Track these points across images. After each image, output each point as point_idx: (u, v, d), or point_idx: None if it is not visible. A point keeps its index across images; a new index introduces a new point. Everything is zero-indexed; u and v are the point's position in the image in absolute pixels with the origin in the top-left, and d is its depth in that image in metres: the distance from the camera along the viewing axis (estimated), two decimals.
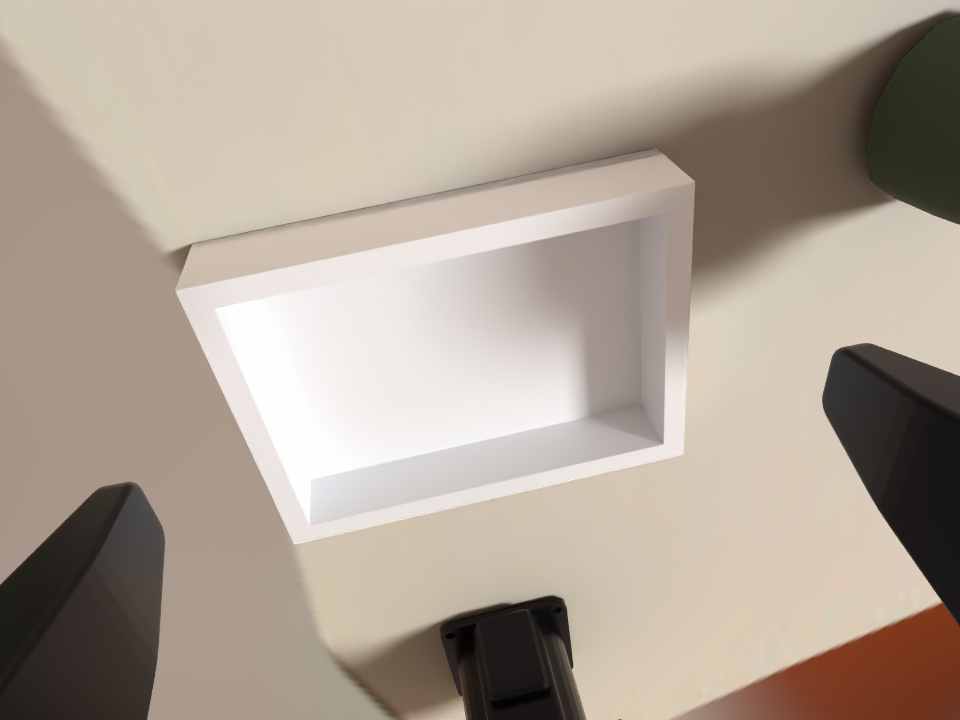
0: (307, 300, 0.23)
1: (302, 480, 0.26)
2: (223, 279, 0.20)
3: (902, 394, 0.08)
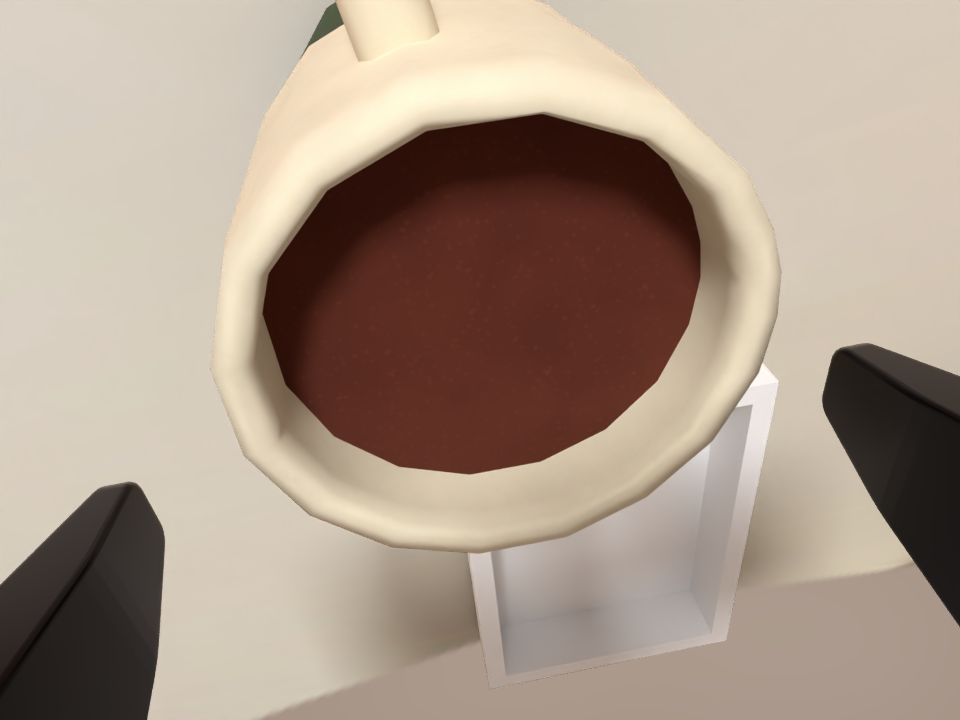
0: (528, 593, 0.32)
1: (677, 613, 0.33)
2: (487, 672, 0.31)
3: (902, 393, 0.08)
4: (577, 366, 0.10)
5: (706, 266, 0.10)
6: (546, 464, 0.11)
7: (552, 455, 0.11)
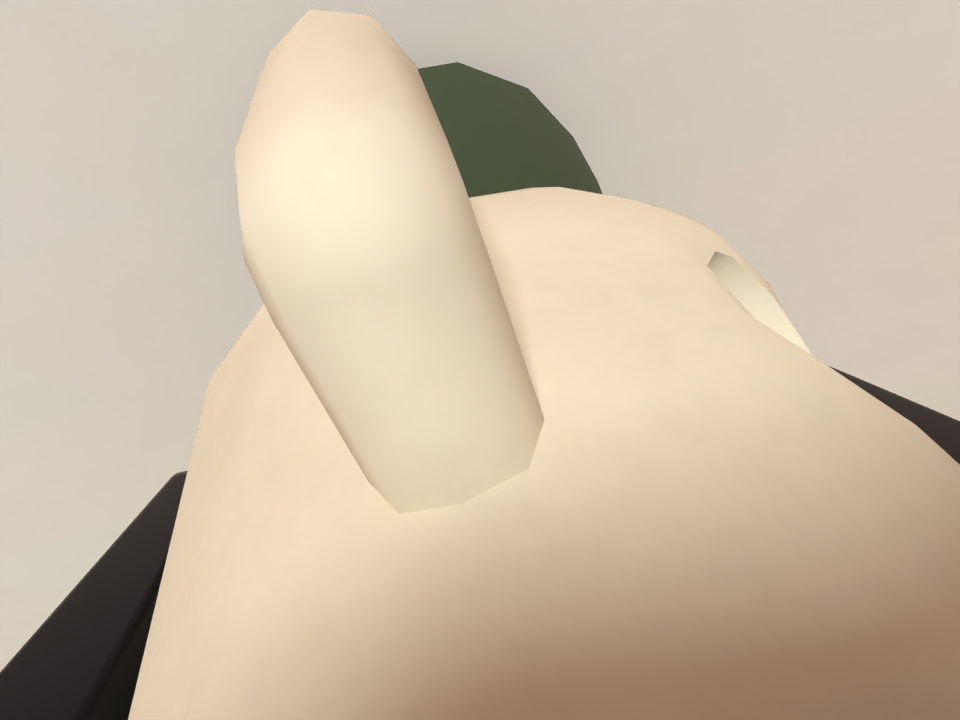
0: None
1: None
2: None
3: None
4: None
5: None
6: None
7: None
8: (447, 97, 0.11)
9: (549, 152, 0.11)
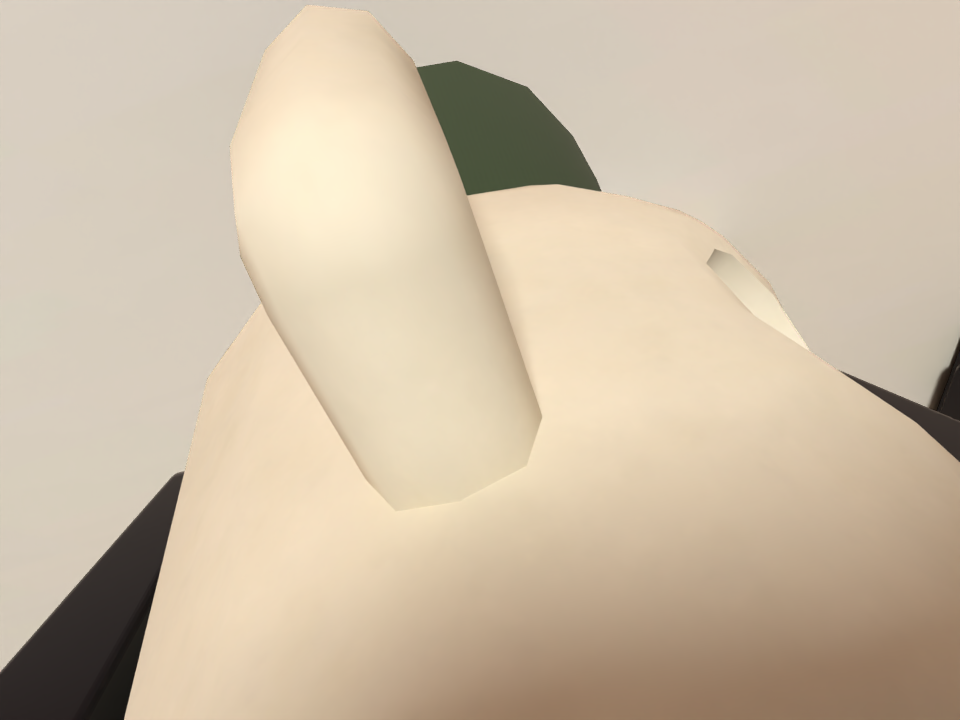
0: None
1: None
2: None
3: None
4: None
5: None
6: None
7: None
8: (447, 95, 0.11)
9: (548, 150, 0.10)
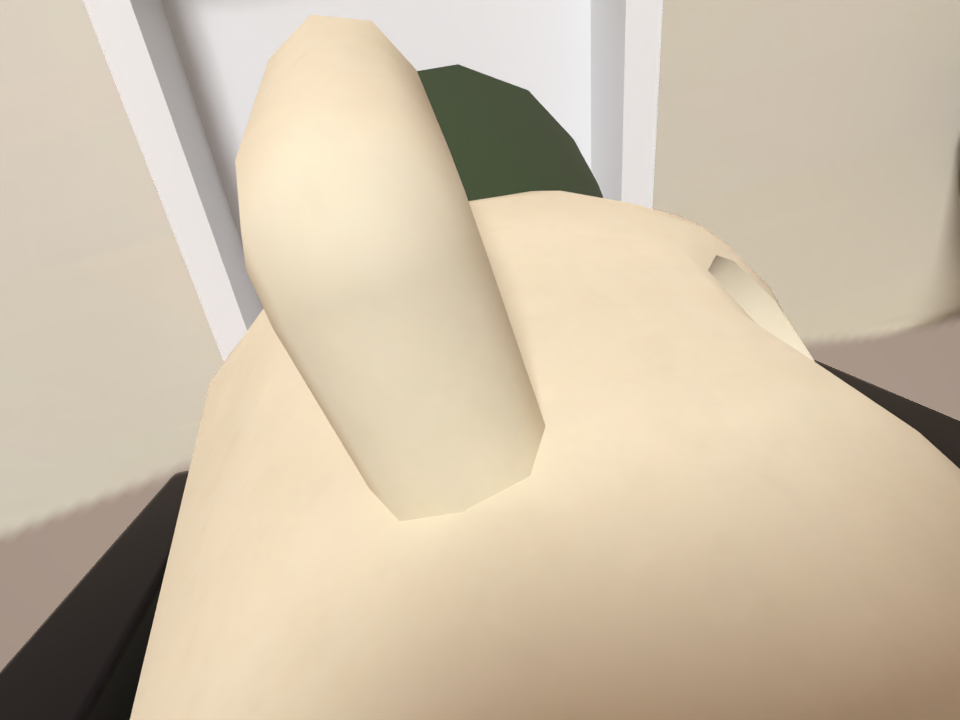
0: None
1: None
2: None
3: None
4: None
5: None
6: None
7: None
8: (448, 99, 0.11)
9: (549, 154, 0.11)
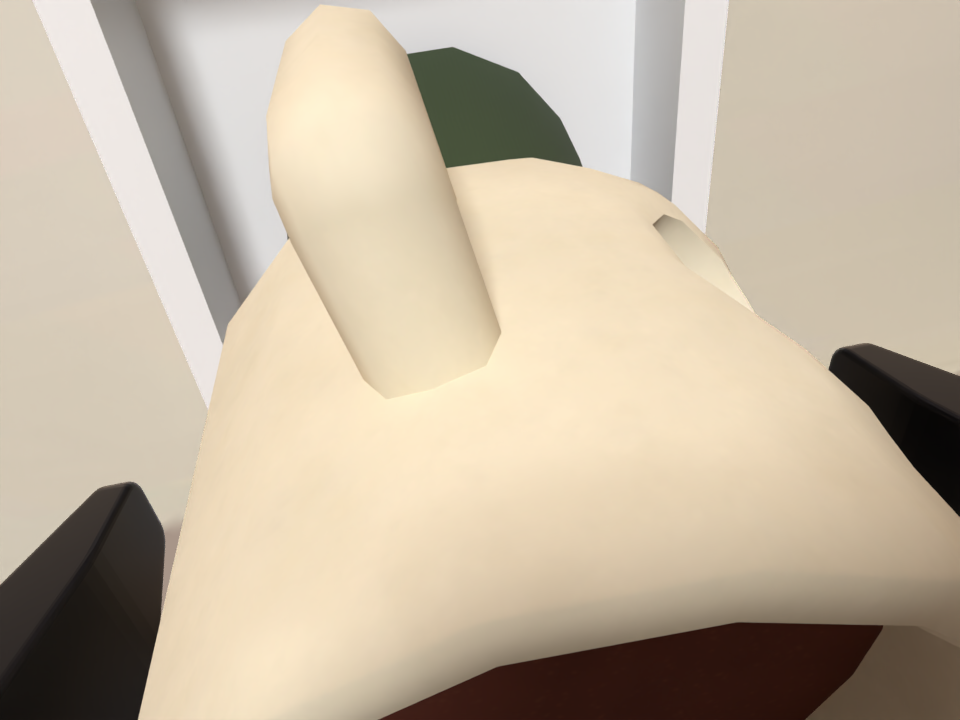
0: None
1: None
2: None
3: (902, 394, 0.08)
4: None
5: (901, 634, 0.06)
6: None
7: None
8: (442, 79, 0.12)
9: (534, 131, 0.12)
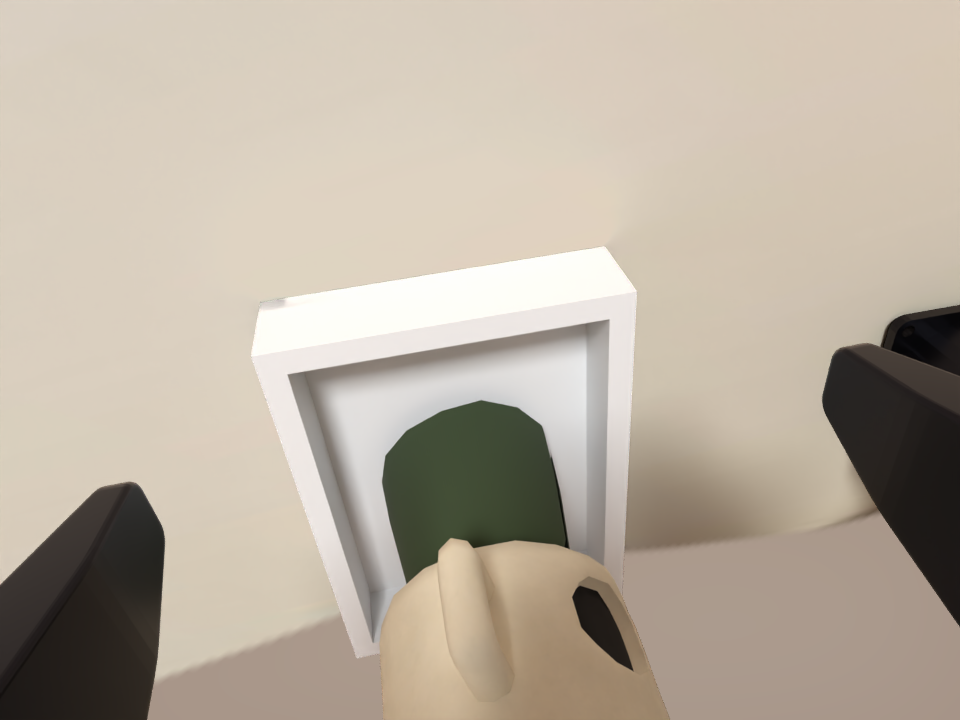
0: None
1: None
2: None
3: (902, 394, 0.08)
4: None
5: None
6: None
7: None
8: (477, 435, 0.23)
9: (526, 471, 0.22)
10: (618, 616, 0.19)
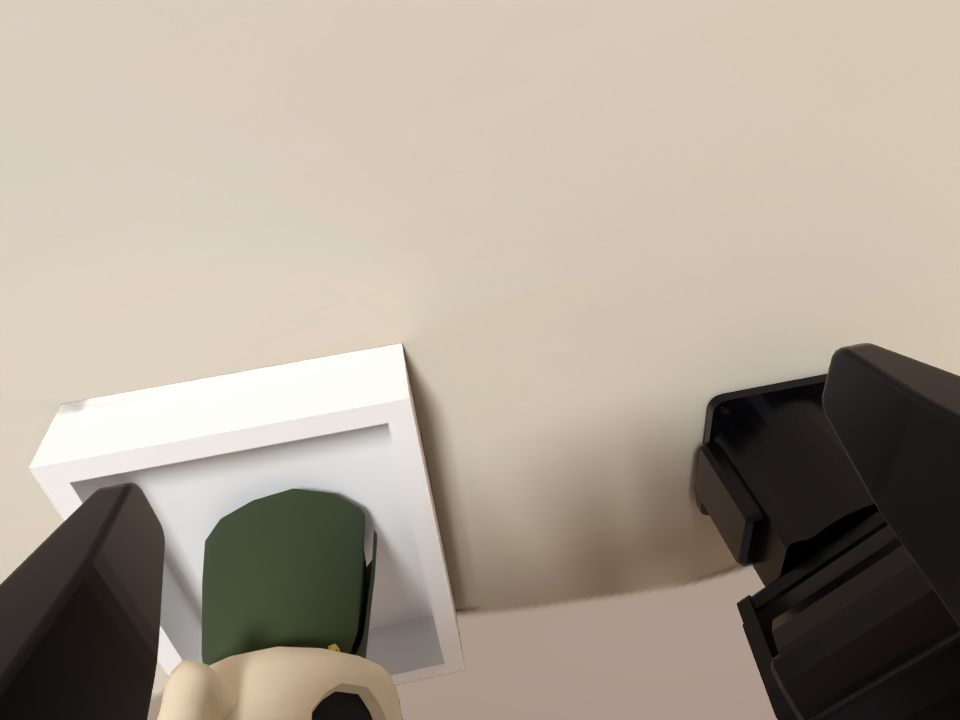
0: None
1: (417, 640, 0.30)
2: None
3: (902, 394, 0.08)
4: None
5: None
6: None
7: None
8: (279, 528, 0.23)
9: (322, 564, 0.23)
10: (377, 718, 0.20)
